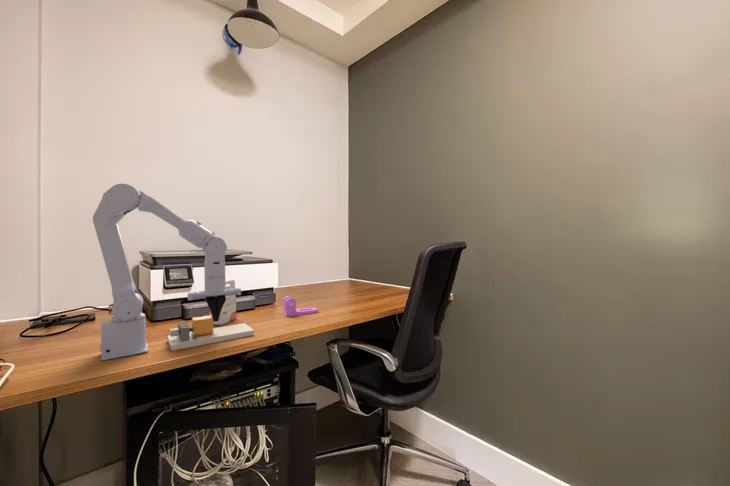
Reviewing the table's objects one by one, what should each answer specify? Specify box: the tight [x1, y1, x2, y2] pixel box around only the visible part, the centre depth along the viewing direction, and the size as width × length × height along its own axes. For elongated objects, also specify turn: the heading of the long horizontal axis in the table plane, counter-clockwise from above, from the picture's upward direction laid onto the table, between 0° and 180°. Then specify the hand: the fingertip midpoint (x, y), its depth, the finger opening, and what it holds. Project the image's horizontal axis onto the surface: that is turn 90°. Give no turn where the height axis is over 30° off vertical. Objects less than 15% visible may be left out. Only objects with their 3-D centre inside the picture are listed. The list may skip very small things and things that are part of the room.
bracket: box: [283, 295, 319, 317], centre depth 124 cm, size 13×6×7 cm, turn 114°
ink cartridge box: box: [209, 279, 237, 325], centre depth 112 cm, size 9×5×15 cm, turn 168°
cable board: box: [167, 320, 255, 352], centre depth 94 cm, size 22×10×5 cm, turn 127°
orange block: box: [191, 314, 213, 337], centre depth 92 cm, size 5×4×5 cm
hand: (215, 320), depth 94 cm, fingers closed
